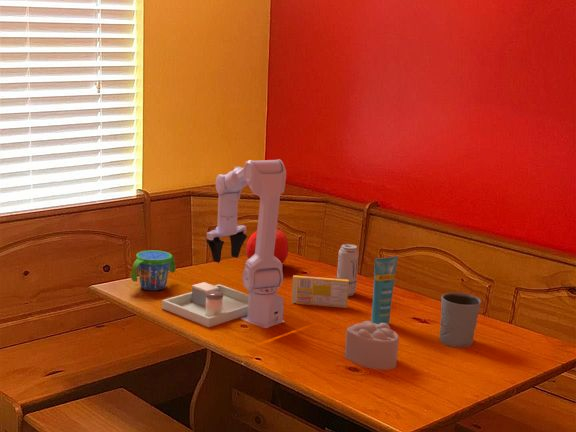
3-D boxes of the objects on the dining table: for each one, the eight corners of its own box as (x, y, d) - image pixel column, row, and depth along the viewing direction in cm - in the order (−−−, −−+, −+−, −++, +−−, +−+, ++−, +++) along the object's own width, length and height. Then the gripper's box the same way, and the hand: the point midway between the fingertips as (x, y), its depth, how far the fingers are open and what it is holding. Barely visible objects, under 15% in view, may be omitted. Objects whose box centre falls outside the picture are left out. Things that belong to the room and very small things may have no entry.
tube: (375, 328, 226) (381, 260, 222) (364, 322, 230) (369, 256, 226) (396, 324, 230) (402, 257, 226) (385, 318, 234) (390, 253, 230)
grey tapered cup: (429, 338, 221) (433, 296, 218) (453, 331, 228) (458, 289, 225) (459, 351, 214) (464, 307, 211) (483, 343, 220) (489, 300, 217)
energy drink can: (349, 298, 250) (353, 250, 246) (332, 293, 253) (335, 246, 249) (358, 293, 255) (362, 246, 251) (341, 289, 258) (345, 242, 254)
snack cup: (164, 278, 258) (165, 246, 256) (185, 287, 251) (186, 255, 248) (121, 287, 247) (121, 254, 245) (141, 297, 240) (141, 263, 238)
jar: (225, 317, 226) (226, 294, 224) (213, 322, 222) (214, 297, 221) (213, 313, 229) (214, 289, 227) (201, 317, 225) (202, 293, 224)
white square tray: (265, 310, 235) (265, 300, 234) (208, 329, 219) (208, 318, 218) (218, 293, 247) (219, 284, 246) (161, 310, 230) (162, 300, 230)
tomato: (271, 259, 284) (273, 220, 281) (297, 270, 274) (299, 229, 271) (234, 266, 274) (236, 225, 271) (260, 277, 264) (262, 235, 261)
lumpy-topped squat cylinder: (366, 346, 214) (369, 314, 212) (406, 363, 205) (409, 330, 203) (339, 356, 207) (341, 323, 205) (379, 373, 198) (382, 339, 196)
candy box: (347, 306, 243) (349, 279, 241) (346, 308, 241) (349, 281, 239) (291, 301, 244) (293, 274, 242) (291, 303, 242) (292, 276, 240)
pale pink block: (218, 304, 236) (218, 287, 235) (206, 307, 233) (206, 290, 232) (203, 298, 240) (203, 282, 239) (191, 302, 237) (192, 285, 235)
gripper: (235, 209, 252) (233, 252, 255) (200, 215, 241) (198, 260, 244) (252, 213, 247) (250, 257, 250) (217, 220, 237) (215, 266, 240)
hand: (225, 259), depth 247 cm, fingers open, 7 cm apart
